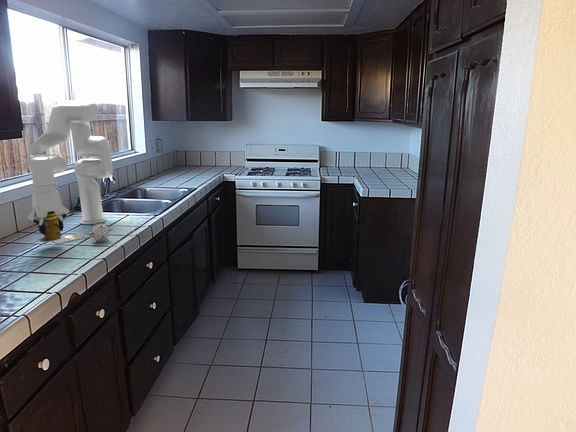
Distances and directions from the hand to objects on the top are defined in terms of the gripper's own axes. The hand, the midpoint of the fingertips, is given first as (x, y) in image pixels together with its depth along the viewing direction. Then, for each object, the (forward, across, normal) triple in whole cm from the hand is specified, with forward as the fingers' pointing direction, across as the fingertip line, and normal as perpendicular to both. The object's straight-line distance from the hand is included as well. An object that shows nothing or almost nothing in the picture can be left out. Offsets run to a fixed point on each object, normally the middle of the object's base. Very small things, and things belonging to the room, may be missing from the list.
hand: (52, 231), depth 172 cm
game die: (+7, -16, +7) cm, 19 cm away
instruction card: (+7, -9, -8) cm, 14 cm away
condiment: (+3, +1, 0) cm, 3 cm away
